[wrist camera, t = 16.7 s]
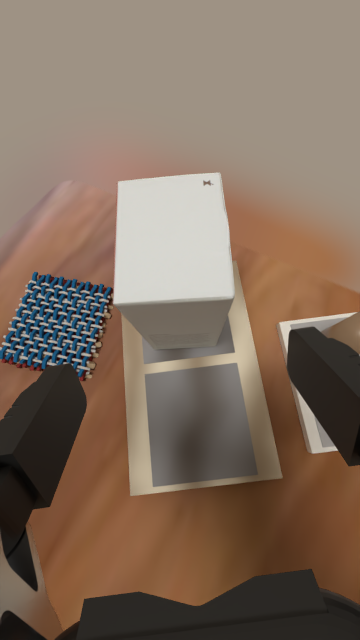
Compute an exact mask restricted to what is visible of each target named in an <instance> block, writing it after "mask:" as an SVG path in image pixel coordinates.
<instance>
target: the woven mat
mask: <svg viewBox="0 0 360 640" xmlns="http://www.w3.org/2000/svg"><path fill="white" fill-rule="evenodd" d="M37 275H38V272H34V273H33V276H32V280H31V281H30V282H29V283H30V284H28V285H26V286H25V287H28V290H26V291H25V292H28V293H27V294H25V296H24V297H23V298H20V300H22V304H19V306H21V307H20V308H19V309H16V310H15V311H17V314H16V315H17V317H13V319H16V320H14V321H13V322H10V323H9V324H12V328H9V329H8V330H12V331H11V332H10V333H9V334H8V335H7V336H5V335H4V336H3V338H5V339H6V343H4V342H3V343H2V345H5V346H4V347H3V348H1V347H0V359H2V361H1V362H3V363H6V362H7V360H9V363H8V364H14V362H16V363H18V364H17V365H16V367H17V368H21V367H25V368H27V366H28V365H29V366H31V367H30V370H34V368H35V367H37V369H36V370H37V371H41V369H44V370H45V368H46V367H48V366H53V365H60V364H66V363H70V364H72V366H73V367H74V369H75V371H76V374H77V376H78V377H80V379H79V380H80V381H83V380H84V378H92V375H91V374H89V373H90V372H87V371H88V370H89V371H90V368H91V369H94V367H95V365H96V364H95V362H92V357H95V358H98V356H99V353H96V350H94V349H95V348H98V347H101V342H98V341H97V338H101V337H102V335H103V333H102V332H103V331H102V330H100V329H102V327H104V328H105V325H106V323H103V322H104V320H105V318H109V319H110V317H111V314H110V313H107V309H113V308H114V307H113V306H110V305H108V304H109V301H110V299H113V294H112V290H113V289H112V288H111V287H108V288H103V287H104V285H103V284H100V286H98V285H94V287H93V285H92V284H91V283H90V282H86V283H84V282H81V283H77V279H73V281H72V280H68V281H67V280H64V277H60V278H57V277H55V278H54V277H51V275H49V274H47V276H45V275H42V276H41V275H39V279H37ZM63 280H64V281H63ZM76 283H77V286H76ZM47 288H48V289H47ZM106 289H107V290H106ZM105 291H106V292H105ZM36 295H37V296H36ZM102 301H103V302H102ZM33 305H34V306H33ZM93 306H94V307H93ZM21 313H22V314H21ZM72 314H73V315H72ZM47 326H48V327H47ZM45 328H46V329H45ZM59 331H60V332H59ZM12 336H13V337H12ZM34 336H36V337H34ZM66 342H67V343H66ZM44 350H45V351H44ZM21 352H22V353H21ZM20 355H22V356H20ZM84 356H85V357H84ZM42 357H43V358H42ZM44 370H43V371H44Z"/></svg>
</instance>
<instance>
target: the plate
mask: <svg viewBox="0 0 360 640" xmlns="http://www.w3.org/2000/svg"><path fill="white" fill-rule="evenodd" d="M311 326H313V327H315V328H317V329H318V330H319V331H320V332H321V333H322V334H324V335H325V336H326V337H327V338H334V339H336V340H338V341H340V342H342V343H345V344H347V345H348V346H350V347H351V348H352V349H353V350H355V351H356V352H357V353H358V354H359V356H360V312H356V313H348V314H340V315H332V316H325V317H317V318H309V319H302V320H294V321H286V322H279V323H278V324H277V325H276V327H277V331H278V335H279V339H280V343H281V347H282V351H283V355H284V359H285V363H286V367H287V353H288V336H289V332H290V330H292V329H298V328H305V327H311ZM287 371H288V370H287ZM288 375H289V374H288ZM289 379H290V377H289ZM290 383H291V387H292V391H293V395H294V400H295V404H296V408H297V412H298V416H299V420H300V424H301V428H302V432H303V436H304V440H305V444H306V448H307V451H308V452H310V453H312V454H314V453H322V452H331V451H338V450H337V448H336V447H335V445H334V444H333V442H332V441H331V439H330V438H329V436H328V435H327V433H326V432H325V430H324V429H323V427H322V426H321V424H320V423H319V421H318V420H317V418H316V417H315V416H314V414H313V413H312V411H311V410H310V408H309V407H308V405H307V404H306V402H305V401H304V399H303V398H302V396H301V395H300V393H299V392H298V390H297V389H296V387H295V386H294V384H293V383H292V381H291V380H290Z"/></svg>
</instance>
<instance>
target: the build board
mask: <svg viewBox="0 0 360 640" xmlns="http://www.w3.org/2000/svg"><path fill="white" fill-rule="evenodd" d="M232 266H233V276H234V286H235V297H234V300H233V303H232V305H231V308H230V311H229V313H228V316H227V318H226V321H225V324H224V326H223V329H222V331H221V334H220V336H219V339H218V342H217V344H216V346H214V347H195V348H177V349H159V350H155V349H153V348H152V346H151V345H150V344H149V343H148V342H147V341H146V340H145V339H144V338H143V336H142V335H141V334H140V333H139V332H138V331H137V330H136V329H135V328H134V326H133V325H132V324H131V323H130V322H129V321H128V320H127V319H126V318H125V316H124V315H123V314H122V313H121V314H122V335H123V355H124V375H125V396H126V416H127V437H128V457H129V478H130V496H135V495H143V494H152V493H160V492H169V491H177V490H186V489H195V488H203V487H212V486H220V485H229V484H237V483H246V482H254V481H263V480H271V479H280V478H283V477H282V473H281V468H280V463H279V459H278V454H277V449H276V445H275V440H274V435H273V431H272V426H271V421H270V416H269V412H268V407H267V402H266V398H265V393H264V388H263V384H262V379H261V374H260V370H259V365H258V360H257V356H256V351H255V346H254V342H253V337H252V332H251V328H250V323H249V318H248V313H247V309H246V304H245V299H244V295H243V290H242V285H241V281H240V276H239V271H238V267H237V262H236V261H232Z"/></svg>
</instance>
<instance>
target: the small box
mask: <svg viewBox="0 0 360 640" xmlns="http://www.w3.org/2000/svg"><path fill="white" fill-rule="evenodd" d="M234 297H235V286H234V276H233V266H232V257H231V247H230V237H229V225H228V217H227V213H226V208H225V201H224V195H223V187H222V181H221V174H220V173H204V174H190V175H178V176H168V177H157V178H147V179H137V180H129V181H119V182H118V183H117V195H116V223H115V250H114V282H113V304H114V305H115V306H116V308H117V309H118V310H119V311H120V312H121V313H122V314H123V315H124V316H125V318H126V319H127V320H128V321H129V322H130V323H131V324H132V325H133V326H134V328H135V329H136V330H137V331H138V332H139V333H140V334H141V335H142V336H143V338H144V339H145V340H146V341H147V342H148V343H149V344H150V345H151V346H152V348H153V349H155V350H159V349H177V348H195V347H214V346H216V344H217V342H218V339H219V336H220V334H221V331H222V329H223V326H224V324H225V321H226V318H227V316H228V313H229V311H230V308H231V305H232V303H233V300H234Z"/></svg>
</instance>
